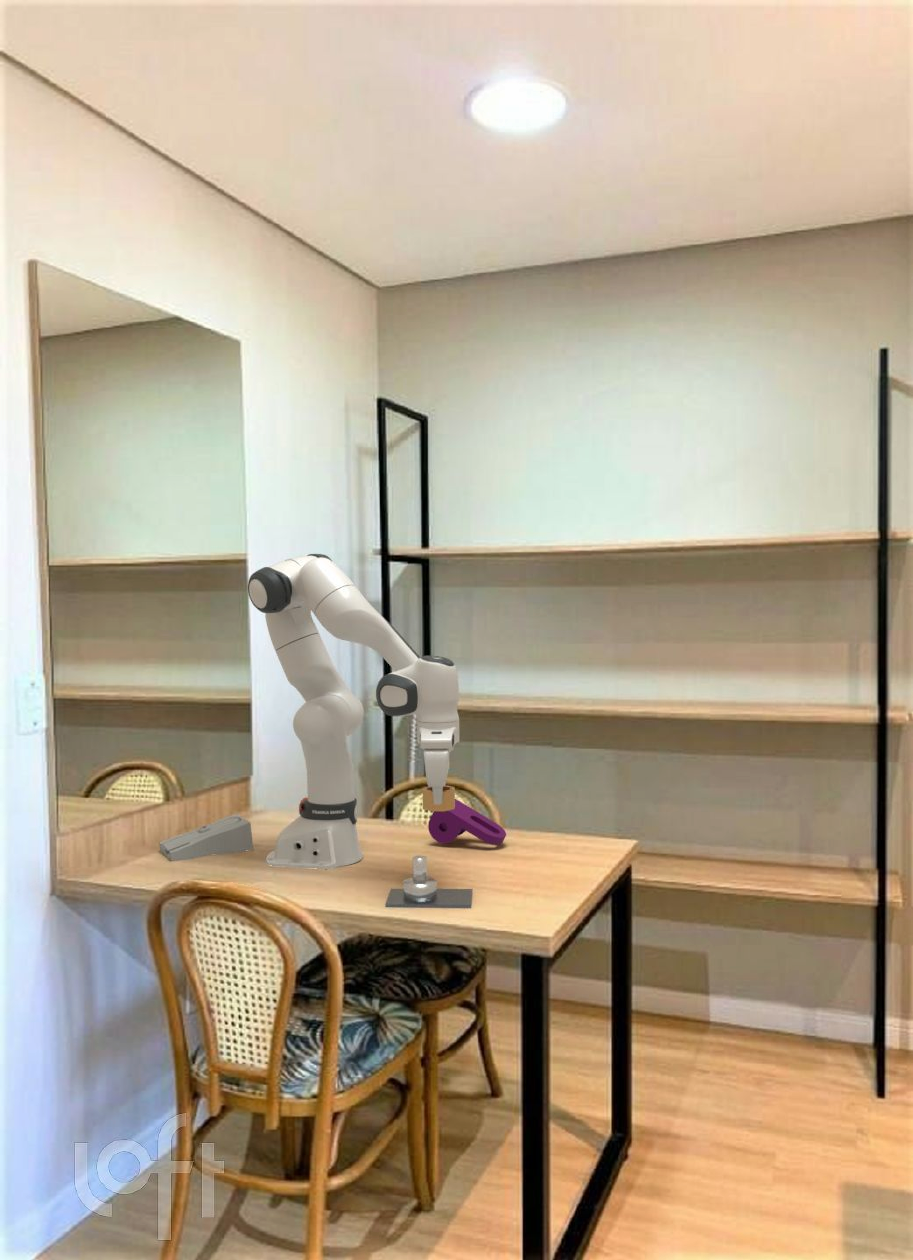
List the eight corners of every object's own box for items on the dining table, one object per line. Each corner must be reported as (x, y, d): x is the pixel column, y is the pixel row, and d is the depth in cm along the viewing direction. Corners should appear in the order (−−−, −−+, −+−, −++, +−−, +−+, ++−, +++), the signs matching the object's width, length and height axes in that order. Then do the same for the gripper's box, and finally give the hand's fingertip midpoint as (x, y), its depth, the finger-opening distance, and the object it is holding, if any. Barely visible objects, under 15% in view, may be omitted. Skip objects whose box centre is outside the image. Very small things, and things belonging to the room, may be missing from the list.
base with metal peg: (385, 909, 194) (384, 864, 193) (391, 893, 204) (390, 850, 203) (471, 909, 193) (470, 864, 192) (472, 893, 203) (472, 850, 202)
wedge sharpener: (253, 850, 239) (252, 821, 239) (171, 863, 229) (170, 833, 229) (239, 840, 249) (238, 813, 248) (159, 852, 238) (158, 823, 238)
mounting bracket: (497, 860, 247) (437, 823, 252) (511, 831, 245) (450, 795, 250) (484, 870, 238) (423, 832, 243) (499, 841, 236) (436, 803, 242)
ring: (422, 811, 201) (421, 792, 201) (424, 803, 208) (424, 785, 208) (454, 811, 201) (453, 791, 201) (455, 803, 208) (455, 785, 208)
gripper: (426, 726, 214) (427, 789, 215) (419, 741, 194) (420, 810, 194) (455, 726, 214) (456, 789, 215) (451, 741, 194) (452, 810, 194)
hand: (439, 799), depth 204 cm, fingers closed on ring, 6 cm apart
